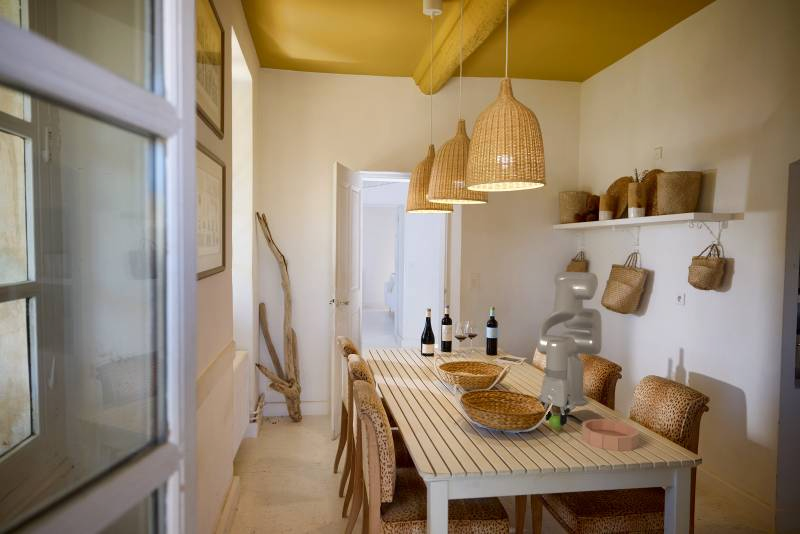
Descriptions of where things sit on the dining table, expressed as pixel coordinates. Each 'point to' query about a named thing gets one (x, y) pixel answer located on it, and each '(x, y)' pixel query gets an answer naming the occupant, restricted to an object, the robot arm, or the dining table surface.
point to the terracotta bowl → (610, 434)
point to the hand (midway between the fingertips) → (555, 421)
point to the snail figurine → (555, 417)
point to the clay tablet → (585, 415)
